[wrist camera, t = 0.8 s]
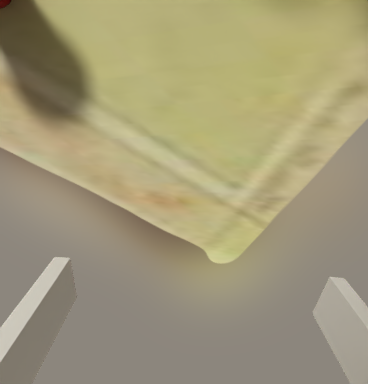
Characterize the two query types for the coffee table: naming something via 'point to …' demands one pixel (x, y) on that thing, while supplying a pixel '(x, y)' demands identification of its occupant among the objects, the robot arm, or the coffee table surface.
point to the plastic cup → (4, 3)
